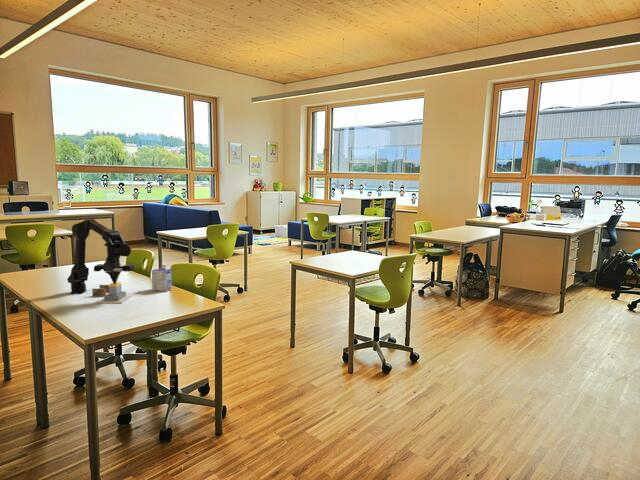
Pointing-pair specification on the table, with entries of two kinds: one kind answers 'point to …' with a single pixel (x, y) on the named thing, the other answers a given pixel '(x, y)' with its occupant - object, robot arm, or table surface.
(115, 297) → the dock
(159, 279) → the ink cartridge box
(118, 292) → the plug
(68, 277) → the robot arm
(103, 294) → the wooden blocks
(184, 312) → the table surface
